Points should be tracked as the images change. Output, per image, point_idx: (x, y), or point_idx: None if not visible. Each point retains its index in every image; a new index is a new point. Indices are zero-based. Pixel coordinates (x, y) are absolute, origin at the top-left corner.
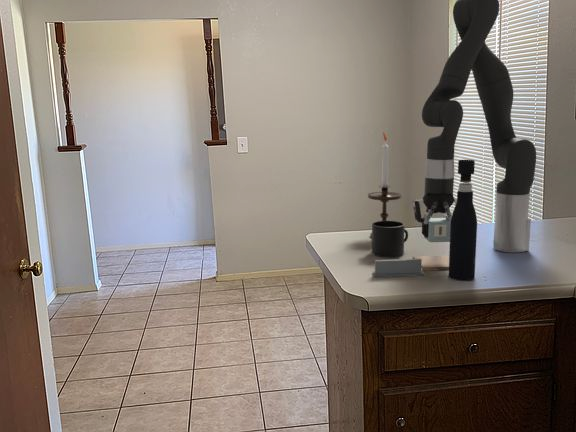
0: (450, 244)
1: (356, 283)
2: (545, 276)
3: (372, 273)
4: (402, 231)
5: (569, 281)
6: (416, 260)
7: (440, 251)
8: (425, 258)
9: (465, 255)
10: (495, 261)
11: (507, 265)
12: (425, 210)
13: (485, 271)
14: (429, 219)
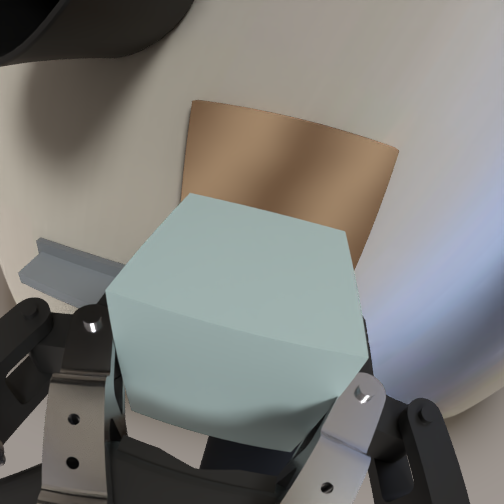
0: (208, 437)
1: (23, 284)
2: (459, 390)
3: (39, 240)
4: (91, 12)
5: (459, 412)
6: None
7: (414, 23)
8: (240, 155)
9: None
10: (498, 265)
11: (485, 311)
12: (49, 404)
13: (382, 338)
14: (123, 402)
